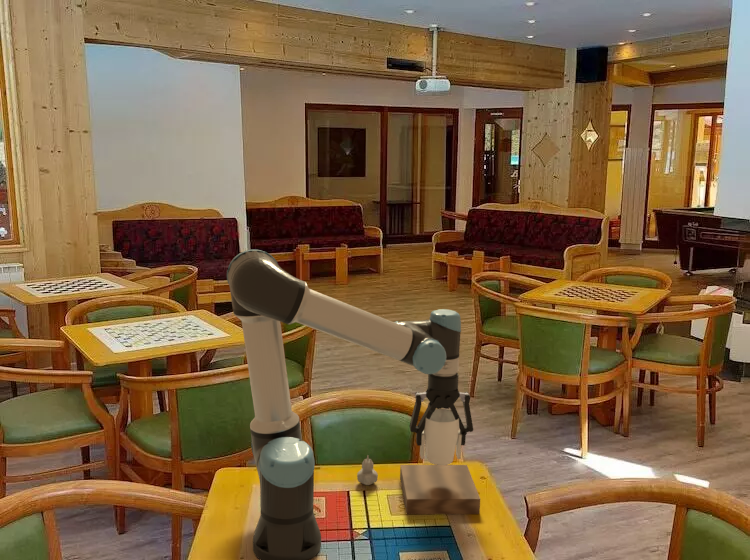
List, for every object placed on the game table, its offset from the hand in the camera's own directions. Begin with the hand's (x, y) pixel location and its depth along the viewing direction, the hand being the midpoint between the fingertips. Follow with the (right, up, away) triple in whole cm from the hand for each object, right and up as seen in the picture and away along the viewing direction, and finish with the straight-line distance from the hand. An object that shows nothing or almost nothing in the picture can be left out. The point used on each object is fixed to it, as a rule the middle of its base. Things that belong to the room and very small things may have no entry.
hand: (440, 456), depth 173 cm
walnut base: (0, -11, +2) cm, 11 cm away
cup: (0, -1, 0) cm, 1 cm away
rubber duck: (-19, -9, +7) cm, 22 cm away
